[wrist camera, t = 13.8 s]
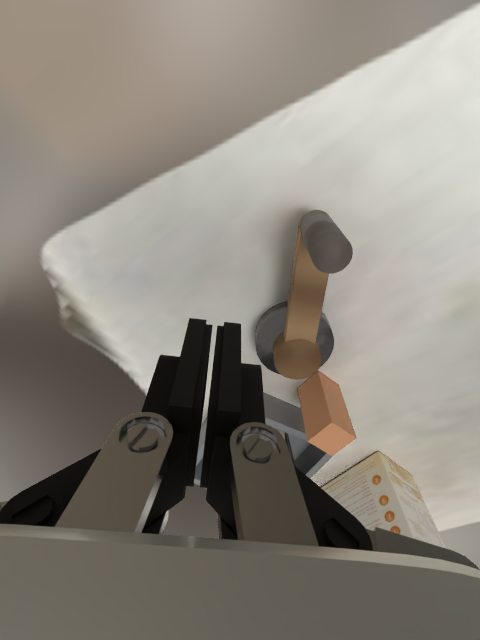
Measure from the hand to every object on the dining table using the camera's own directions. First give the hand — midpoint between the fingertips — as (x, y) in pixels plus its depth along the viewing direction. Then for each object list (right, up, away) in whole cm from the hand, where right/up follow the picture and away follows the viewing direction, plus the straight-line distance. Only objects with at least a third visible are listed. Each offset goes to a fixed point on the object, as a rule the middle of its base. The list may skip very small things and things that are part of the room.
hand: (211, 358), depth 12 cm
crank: (+6, +3, +18) cm, 19 cm away
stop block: (+9, -6, +26) cm, 28 cm away
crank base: (+6, 0, +22) cm, 23 cm away
